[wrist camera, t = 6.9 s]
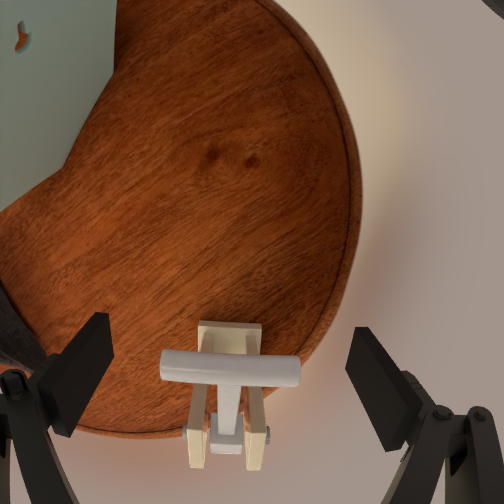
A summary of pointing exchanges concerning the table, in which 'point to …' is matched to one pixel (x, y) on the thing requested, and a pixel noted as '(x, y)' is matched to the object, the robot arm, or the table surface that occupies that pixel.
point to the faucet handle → (229, 385)
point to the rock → (17, 340)
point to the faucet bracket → (256, 432)
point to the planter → (49, 84)
